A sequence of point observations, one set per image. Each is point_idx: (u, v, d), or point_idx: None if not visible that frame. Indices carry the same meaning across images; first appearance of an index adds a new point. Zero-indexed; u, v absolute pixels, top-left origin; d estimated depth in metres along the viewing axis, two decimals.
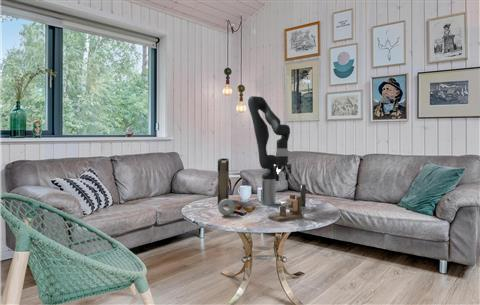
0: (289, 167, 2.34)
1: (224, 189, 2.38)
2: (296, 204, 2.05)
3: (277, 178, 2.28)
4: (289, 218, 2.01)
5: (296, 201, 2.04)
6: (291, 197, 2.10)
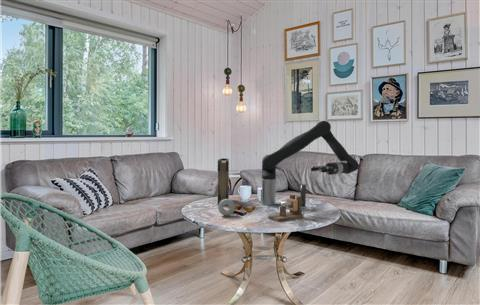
0: None
1: (224, 189, 2.38)
2: (296, 204, 2.05)
3: (324, 171, 2.15)
4: (289, 218, 2.01)
5: (296, 201, 2.04)
6: (291, 197, 2.10)
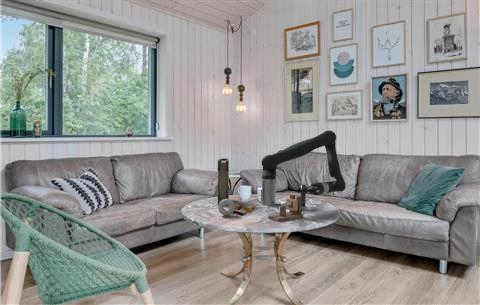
0: None
1: (224, 189, 2.38)
2: (296, 204, 2.05)
3: None
4: (289, 218, 2.01)
5: (296, 201, 2.04)
6: (291, 197, 2.10)
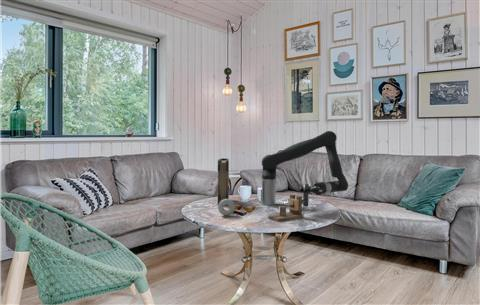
0: None
1: (224, 189, 2.38)
2: (297, 204, 2.05)
3: (307, 192, 2.11)
4: (289, 218, 2.01)
5: (297, 201, 2.05)
6: (291, 197, 2.10)
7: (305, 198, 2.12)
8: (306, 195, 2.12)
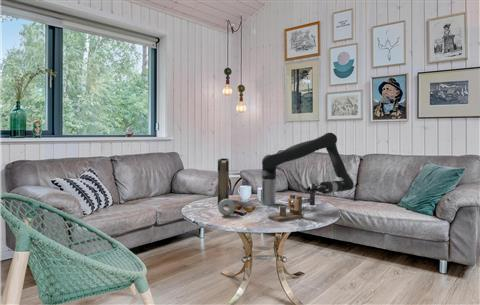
0: None
1: (224, 189, 2.38)
2: (297, 204, 2.05)
3: (314, 191, 2.14)
4: (289, 218, 2.01)
5: (297, 201, 2.05)
6: (291, 197, 2.10)
7: (312, 197, 2.16)
8: (313, 194, 2.16)
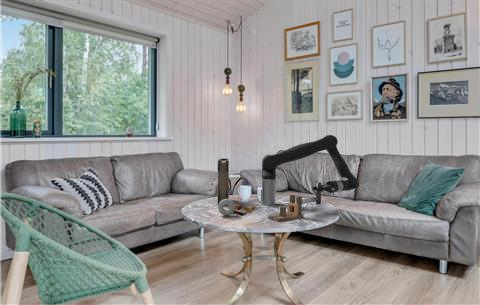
0: None
1: (224, 189, 2.38)
2: (297, 208, 2.05)
3: None
4: (289, 218, 2.01)
5: (297, 205, 2.05)
6: (291, 197, 2.10)
7: (318, 196, 2.19)
8: (319, 193, 2.19)
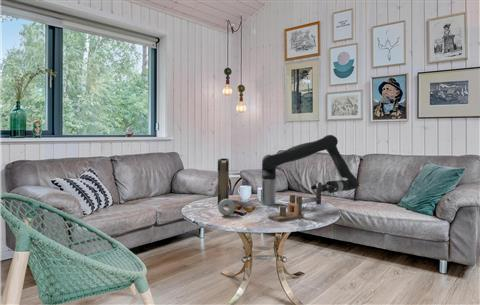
0: None
1: (224, 189, 2.38)
2: (297, 208, 2.05)
3: (324, 190, 2.16)
4: (289, 218, 2.01)
5: (297, 205, 2.05)
6: (291, 197, 2.10)
7: (318, 196, 2.19)
8: (319, 193, 2.19)
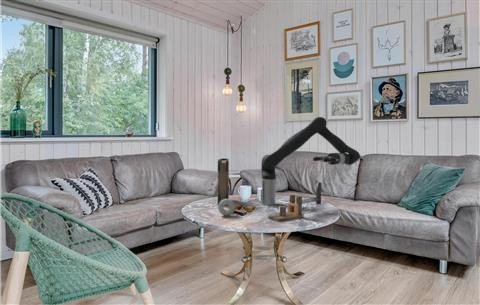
0: (320, 159, 2.31)
1: (224, 189, 2.38)
2: (297, 208, 2.05)
3: (326, 161, 2.19)
4: (289, 218, 2.01)
5: (297, 205, 2.05)
6: (291, 197, 2.10)
7: (318, 196, 2.19)
8: (319, 193, 2.19)
